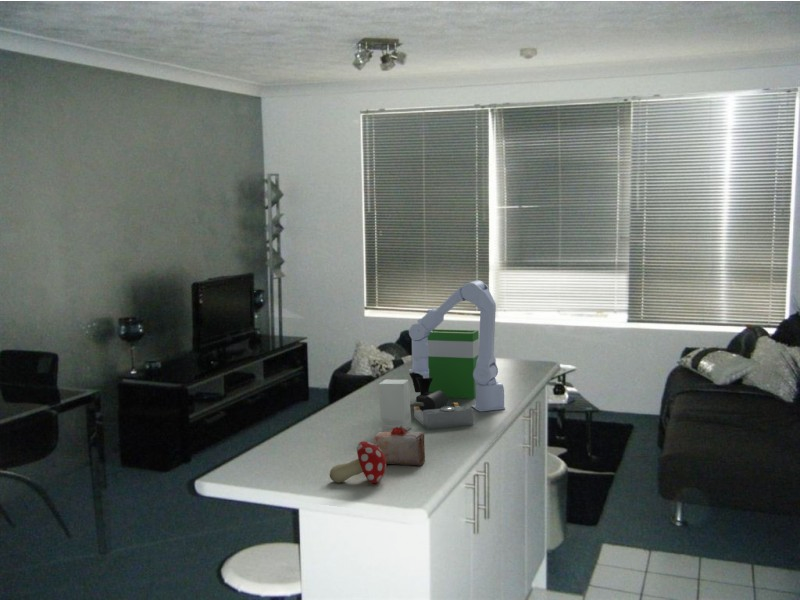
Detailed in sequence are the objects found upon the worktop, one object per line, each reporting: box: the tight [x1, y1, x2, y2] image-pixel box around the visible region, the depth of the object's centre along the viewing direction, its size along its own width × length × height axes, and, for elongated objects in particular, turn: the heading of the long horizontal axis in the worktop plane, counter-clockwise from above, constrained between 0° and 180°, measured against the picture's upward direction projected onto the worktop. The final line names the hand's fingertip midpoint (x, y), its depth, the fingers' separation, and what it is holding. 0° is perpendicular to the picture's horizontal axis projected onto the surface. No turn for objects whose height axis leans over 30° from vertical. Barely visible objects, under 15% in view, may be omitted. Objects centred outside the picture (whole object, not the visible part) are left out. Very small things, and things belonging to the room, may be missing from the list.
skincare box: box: [378, 378, 412, 432], centre depth 252 cm, size 8×7×16 cm
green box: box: [428, 328, 480, 400], centre depth 296 cm, size 18×7×24 cm, turn 69°
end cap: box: [415, 390, 448, 412], centre depth 273 cm, size 10×7×7 cm
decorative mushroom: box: [329, 441, 387, 484], centre depth 204 cm, size 11×11×15 cm
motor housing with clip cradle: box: [413, 402, 474, 430], centre depth 261 cm, size 15×16×6 cm
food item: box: [374, 425, 426, 466], centre depth 219 cm, size 14×8×10 cm, turn 76°
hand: (421, 394), depth 285 cm, fingers open, 7 cm apart
